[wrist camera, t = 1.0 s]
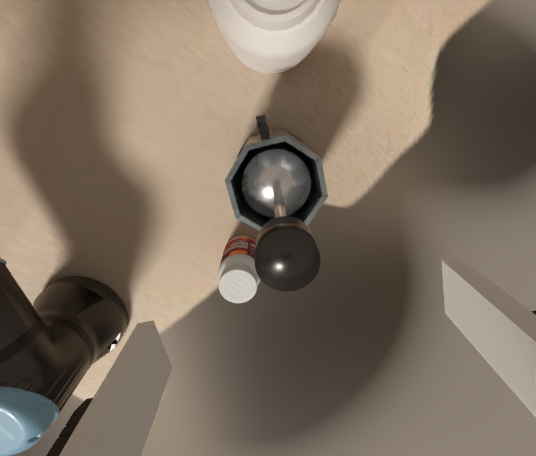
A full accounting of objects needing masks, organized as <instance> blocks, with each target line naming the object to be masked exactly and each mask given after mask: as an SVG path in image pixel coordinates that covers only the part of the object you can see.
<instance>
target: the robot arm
mask: <svg viewBox="0 0 536 456" xmlns="http://www.w3.org/2000/svg"><path fill="white" fill-rule="evenodd" d="M6 264H7V263H6V261H5V260H3V259H1V258H0V456H9V455H13V454H17V453H20V452H22V451H25V450H26V449H28V448H30V447H31V446H33V445H34V444H35V443H36V442H37V441H38V440H39V439H40V438H41V437H42V436H43V434H44V433H45V432H46V431H47V429H48V428H49V427H50V426H51V424H52V423H54V421H55V420H56V419H57V418H58V415H59V413H60V411H61V410H62V408H63V407H64V405H65V404H66V402H67V401H68V399H69V398H70V396H71V395H72V393H73V392H74V390H75V389H76V387H77V386H78V384H79V383H80V381H81V380H82V378H83V377H84V375H85V374H86V372H87V370H88V369H89V367H90V366H91V365H92V364H93V363H95V362H96V361H98V360H99V359H100V358H102V357H103V356H105V355H106V354H107V353H109V352H110V351H111V350H113V349H114V348H115V347H116V346H117V344H118V343H119V341H120V340H121V338H122V337H123V335H124V333H125V331H126V328H127V323H128V317H127V312H126V309H125V306H124V304H123V302H122V301H121V299H120V298H119V297H118V295H117V294H116V293H115V292H114V291H113V290H111V289H110V288H109V287H107V286H106V285H104V284H102V283H100V282H98V281H96V280H93V279H90V278H85V277H67V278H63V279H60V280H57V281H55V282H54V283H52V284H51V285H49V286H48V287H47V288H46V289H45V290H43V291H42V292H41V293H40V294H39V295H38V297H37V298H36V300H35V302H34V304H33V306H32V304H31V303H30V301H29V300H28V298H27V297H26V295H25V294H24V292H23V291H22V289H21V288H20V286H19V285H18V283H17V282H16V280H15V279H14V277H13V276H12V274H11V273H10V271H9V270H8V268H7V267H6ZM442 273H443V288H444V302H445V314H446V315H447V316H448V317H449V318H450V319H451V320H452V321H453V323H454V324H455V325H456V326H457V327H458V328H459V330H460V331H461V332H462V333H463V334H464V335H465V336H466V338H467V339H468V340H469V341H470V342H471V343H472V345H473V346H474V347H475V348H476V349H477V350H478V351H479V353H480V354H481V355H482V356H483V357H484V358H485V360H486V361H487V362H488V363H489V364H490V365H491V366H492V368H493V369H494V370H495V371H496V372H497V373H498V374H499V376H500V377H501V378H502V379H503V380H504V381H505V382H506V383H507V385H508V386H509V387H510V388H511V389H512V391H513V392H514V393H515V394H516V395H517V396H518V397H519V399H520V400H521V401H522V402H523V403H524V404H525V406H526V407H527V408H528V409H529V410H530V411H531V412H532V414H533V415H534V416H535V417H536V311H530V310H528V309H527V308H526V307H524V306H523V305H522V304H521V303H519V302H518V301H517V300H516V299H514V298H513V297H512V296H510V295H509V294H508V293H506V292H505V291H504V290H502V289H501V288H500V287H499V286H497V285H496V284H495V283H494V282H492V281H491V280H489V279H488V278H487V277H486V276H484V275H483V274H482V273H481V272H479V271H478V270H477V269H475V268H474V267H472V266H471V265H470V264H469V263H467V262H466V261H465V260H464V259H462V258H461V257H459V256H458V257H454V258H449V259H444V260H442ZM171 370H172V365H171V363H170V360H169V358H168V355H167V353H166V350H165V348H164V346H163V343H162V341H161V338H160V336H159V333H158V331H157V329H156V326H155V324H154V321H148V322H143V323H138V324H137V325H136V327H135V329H134V330H133V332H132V334H131V335H130V337H129V339H128V340H127V342H126V344H125V345H124V347H123V349H122V351H121V352H120V354H119V356H118V357H117V359H116V361H115V362H114V364H113V366H112V367H111V369H110V371H109V372H108V374H107V376H106V377H105V379H104V381H103V383H102V384H101V386H100V388H99V389H98V391H97V393H96V394H95V396H94V398H90V399H86V400H85V401H84V402H83V403H82V404H81V405H80V406H79V407H78V408H77V409H76V410H75V411H74V413H73V414H72V416H71V418H70V419H69V421H68V422H67V424H66V427H64V429H63V430H62V432H61V433H60V435H59V438H57V440H56V441H55V443H54V444H53V446H52V448H51V449H50V451H49V452H48V454H47V456H141V453H142V451H143V448H144V445H145V442H146V439H147V437H148V434H149V431H150V428H151V426H152V423H153V420H154V417H155V414H156V412H157V409H158V406H159V403H160V401H161V398H162V395H163V392H164V389H165V387H166V384H167V381H168V378H169V376H170V372H171Z"/></svg>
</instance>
